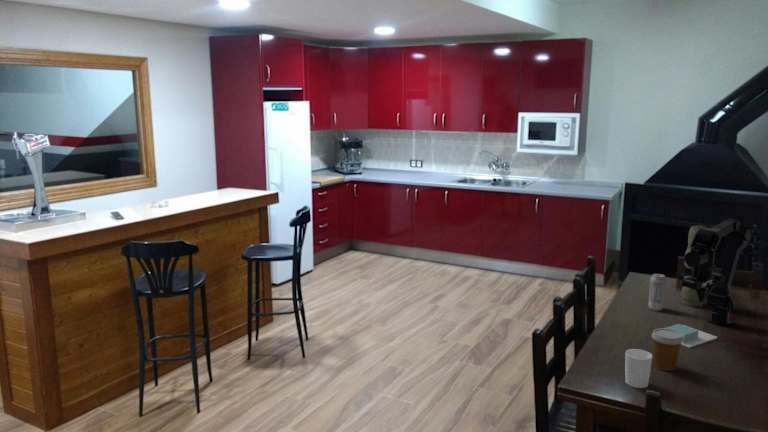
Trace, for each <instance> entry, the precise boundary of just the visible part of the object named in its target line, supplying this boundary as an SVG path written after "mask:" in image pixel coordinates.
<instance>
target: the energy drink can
mask: <svg viewBox="0 0 768 432" xmlns="http://www.w3.org/2000/svg"><path fill="white" fill-rule="evenodd" d="M665 276H666V275H664V274H660V273H653V274H652V276H651V277H650V279H649V291H648V292H649V293H648V305H647V307H648V308H649V309H650V310H652V311H655V312H661V311H662V310H663V309H665V298H666V297H665V296H666V285H667V283H666V282H667V279H666V277H665Z"/></svg>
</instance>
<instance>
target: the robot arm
mask: <svg viewBox="0 0 768 432" xmlns="http://www.w3.org/2000/svg"><path fill="white" fill-rule="evenodd" d="M723 237H724V242H725V246H726V251H725V254H724V257H723V260H722V261H723V262H722V265H721V268H720V270H719V271H720V272H719V273H718V272H714V270H715V269H717V265H715V257H716V251H717V250H718V246H719V244H720V243H721V239H722V238H723ZM751 239H752V233H751V231H750V229H749V228H748V227H746V226H745V225H743V224H742V223H741V222H740V220H736V219H729V218H727V219H726V218H725V219H724V220H723V221H722V222H720V223H718V224H717V225H714V226H713V227H707V228H702V229H699V230H698V231H697V232H696V234H695V237H694V239H693V241H692V243H691V246H690V247H692V249H691V252H688V253H687V254H686V255H685V254H684V259H683V260H684V262H686V264H687V265H688V266H690V267H686V266H685V265H684V266H680V267H679V268H678V274H679V275H680V276H681V277H682V278H683V279H682V280H681V283H680V286H681V287H683V286H684V287H688V288H691V289H696V291H697V295H698V298H699V302H703V303H704V302H705V300H706V301H707V302H706V303H707V307H711V308H712V309H711V311H712V312H711V318H709V319H707V322H709V323H712V324H715V325H717V326H718V325H719V326H720V327H721V326H722V327H724V326H728V325H731V324H732V323H733V322H732V321H730V320H729V315H730V312H731V313H732V312H735V309H736V307H737V306H736V305H737V304H736V302H735V300H734V298H733V297H734V292H733V291H734V290H732V283H733V279H734V275H735V272H736V269H737V265H738V263H739V262H738V261H739V258H740V255H741V252H742V251H743V250H744V249H745V248H747V246H748V244H749V242H750V241H751ZM697 243H698V244H697ZM701 244H703V245H701ZM685 276H691V277H693V278H690V277H689V278H685V279H684V277H685ZM694 278H696V279H694ZM713 281H716V282H715V284H714V283H713Z"/></svg>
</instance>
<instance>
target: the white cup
mask: <svg viewBox="0 0 768 432" xmlns="http://www.w3.org/2000/svg"><path fill="white" fill-rule="evenodd" d="M653 358H654V355H653V354H652V353H651V352H649V351H647V350H644V349H639V348H630V349H629V348H628V349H627V350H625V353H624V374H625V378H624V381H625V384H626V385H628V386H630V387H632V388H637V389H644V388H647V387H648V386H649V383H650V382H649V381H650V377H651V370H652V365H653V364H652V363H653Z"/></svg>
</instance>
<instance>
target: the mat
mask: <svg viewBox="0 0 768 432" xmlns="http://www.w3.org/2000/svg"><path fill="white" fill-rule="evenodd" d="M683 325H684V324H683ZM684 326H687V327H690V328H692V329H695V330H698V338H697V339H694V340H691V341H688V342H685V343H681V346H683V347H686V348H689V349H691V348H694V347H696V346H699V345H700V346H701V345H703V344H706V343H709V342H711V341H714V340H717V339H718V338H719V337H718V336H716V335H714V334H710V333H708V332H704V331H703V330H700V329H696V328H693V327H691V326H688V325H684Z"/></svg>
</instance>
